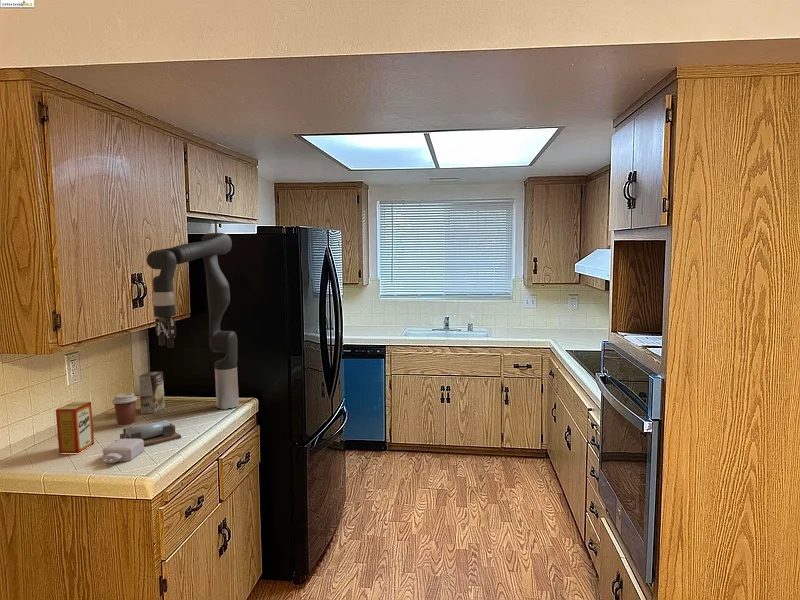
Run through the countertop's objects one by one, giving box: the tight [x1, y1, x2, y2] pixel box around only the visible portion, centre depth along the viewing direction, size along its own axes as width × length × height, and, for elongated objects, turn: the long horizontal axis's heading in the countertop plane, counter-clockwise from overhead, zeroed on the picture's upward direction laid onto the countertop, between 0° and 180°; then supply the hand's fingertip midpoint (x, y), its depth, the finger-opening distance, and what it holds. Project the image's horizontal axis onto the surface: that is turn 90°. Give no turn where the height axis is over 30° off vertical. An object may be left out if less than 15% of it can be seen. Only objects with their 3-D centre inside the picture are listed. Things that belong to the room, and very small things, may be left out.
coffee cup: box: [111, 392, 138, 427], centre depth 227 cm, size 9×9×12 cm
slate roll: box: [125, 419, 170, 440], centre depth 206 cm, size 14×5×5 cm, turn 133°
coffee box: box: [138, 371, 166, 414], centre depth 246 cm, size 9×6×16 cm
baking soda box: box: [55, 401, 95, 454], centre depth 198 cm, size 10×6×16 cm
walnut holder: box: [114, 419, 182, 448], centre depth 206 cm, size 12×19×5 cm, turn 133°
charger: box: [101, 438, 145, 464], centre depth 188 cm, size 5×9×15 cm
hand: (166, 346), depth 216 cm, fingers open, 8 cm apart
